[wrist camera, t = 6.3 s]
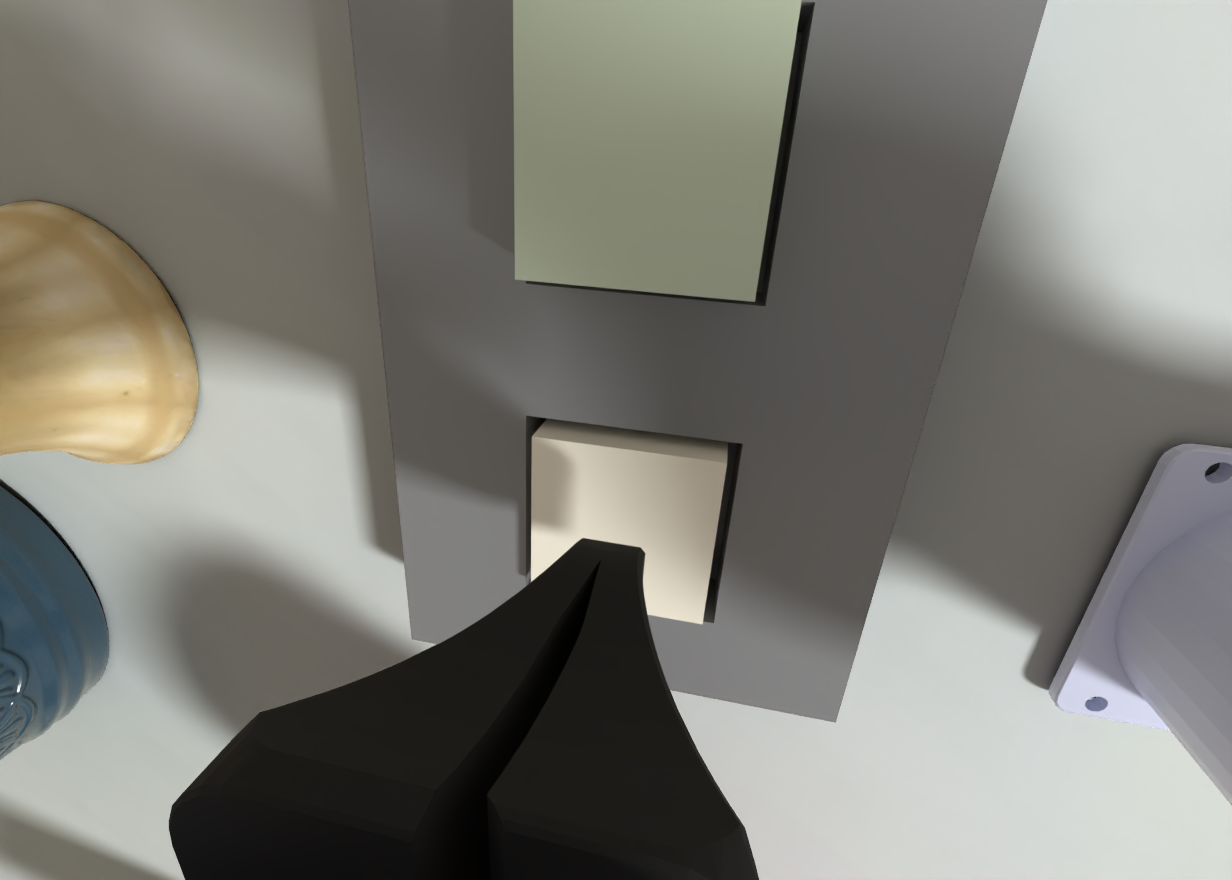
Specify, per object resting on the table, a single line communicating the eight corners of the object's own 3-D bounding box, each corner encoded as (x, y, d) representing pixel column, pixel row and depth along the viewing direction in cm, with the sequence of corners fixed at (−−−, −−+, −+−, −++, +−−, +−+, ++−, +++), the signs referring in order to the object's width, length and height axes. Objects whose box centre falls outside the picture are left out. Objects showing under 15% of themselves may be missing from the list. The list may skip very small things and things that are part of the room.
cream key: (728, 426, 14) (727, 463, 12) (706, 571, 16) (702, 624, 14) (558, 405, 15) (531, 436, 13) (554, 547, 17) (530, 593, 15)
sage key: (789, 34, 10) (802, -6, 8) (751, 284, 12) (754, 302, 10) (553, 28, 11) (513, -10, 9) (549, 267, 13) (515, 279, 11)
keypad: (1248, -960, 7) (1486, -1498, 5) (822, 654, 17) (835, 722, 15) (363, -781, 9) (237, -1115, 7) (450, 587, 19) (411, 639, 17)
